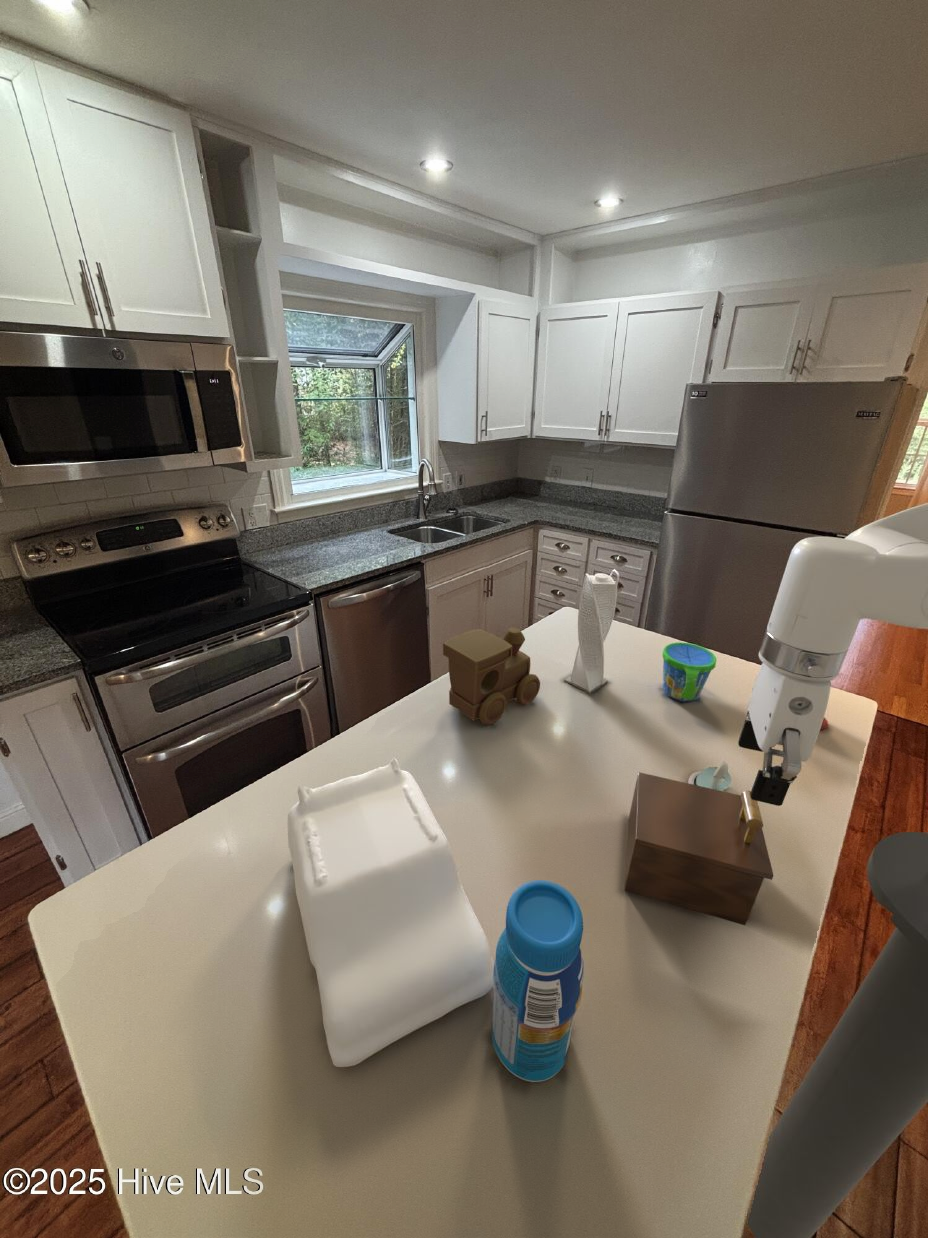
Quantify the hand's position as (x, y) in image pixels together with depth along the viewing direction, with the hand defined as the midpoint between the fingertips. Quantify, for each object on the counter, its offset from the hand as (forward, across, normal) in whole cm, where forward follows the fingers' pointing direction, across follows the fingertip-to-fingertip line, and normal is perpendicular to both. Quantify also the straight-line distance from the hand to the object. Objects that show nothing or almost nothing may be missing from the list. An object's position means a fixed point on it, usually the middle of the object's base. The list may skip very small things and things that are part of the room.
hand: (757, 773), depth 61 cm
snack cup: (+19, +47, +4) cm, 50 cm away
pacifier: (+19, +18, 0) cm, 26 cm away
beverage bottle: (+19, -28, +21) cm, 40 cm away
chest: (+19, 0, +5) cm, 20 cm away
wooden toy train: (+19, +28, +41) cm, 54 cm away
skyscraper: (+19, +44, +23) cm, 53 cm away
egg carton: (+19, -21, +42) cm, 51 cm away
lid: (+10, 0, +5) cm, 11 cm away
